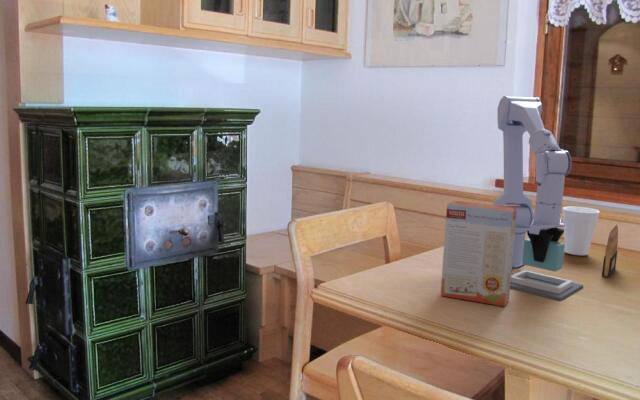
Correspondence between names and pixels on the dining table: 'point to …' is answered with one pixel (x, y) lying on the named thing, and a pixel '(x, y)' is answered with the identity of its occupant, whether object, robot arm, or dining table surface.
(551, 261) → the light blue rectangular block
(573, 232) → the cup
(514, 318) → the dining table surface
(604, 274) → the ammunition clip
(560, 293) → the grey square tray
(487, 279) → the cracker box
